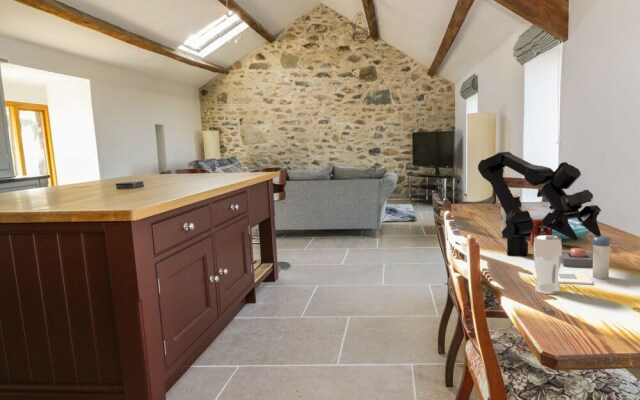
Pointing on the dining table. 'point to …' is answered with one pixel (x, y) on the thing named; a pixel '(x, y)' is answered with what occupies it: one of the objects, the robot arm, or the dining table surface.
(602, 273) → the blue capped bottle
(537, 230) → the canned food
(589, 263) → the button housing
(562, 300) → the dining table surface
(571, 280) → the cream square base plate
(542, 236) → the beer glass
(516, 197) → the travel mug
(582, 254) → the button
